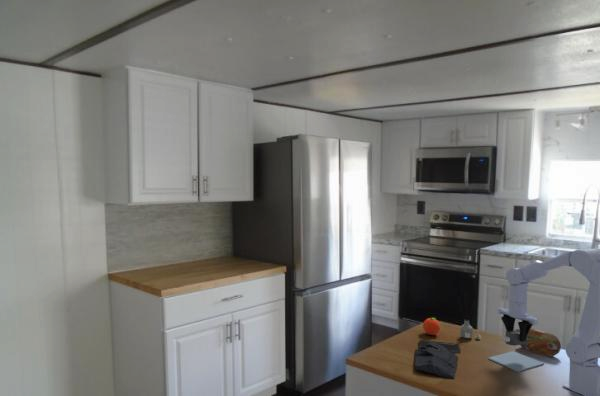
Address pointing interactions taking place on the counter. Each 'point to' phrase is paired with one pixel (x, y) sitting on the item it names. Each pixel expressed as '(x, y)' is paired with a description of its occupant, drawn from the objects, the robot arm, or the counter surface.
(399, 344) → the counter surface
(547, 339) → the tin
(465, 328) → the reed diffuser
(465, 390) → the counter surface
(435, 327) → the clementine
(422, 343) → the phone
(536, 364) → the rubber mat
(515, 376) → the counter surface
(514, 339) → the connector
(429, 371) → the dark slate chunk
